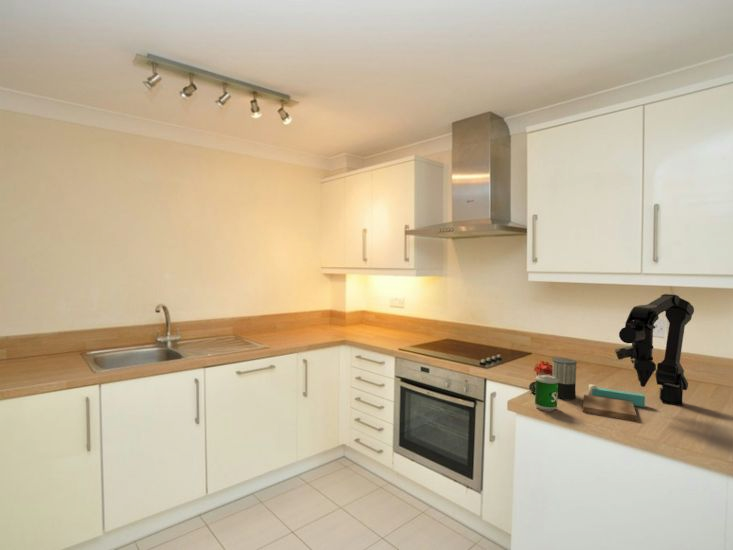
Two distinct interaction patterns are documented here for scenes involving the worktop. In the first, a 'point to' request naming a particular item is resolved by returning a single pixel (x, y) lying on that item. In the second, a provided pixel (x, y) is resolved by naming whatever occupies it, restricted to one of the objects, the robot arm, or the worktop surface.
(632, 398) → the folding leg
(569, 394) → the milk frother
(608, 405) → the flat wooden board
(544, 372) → the dragon fruit
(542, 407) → the soda can
